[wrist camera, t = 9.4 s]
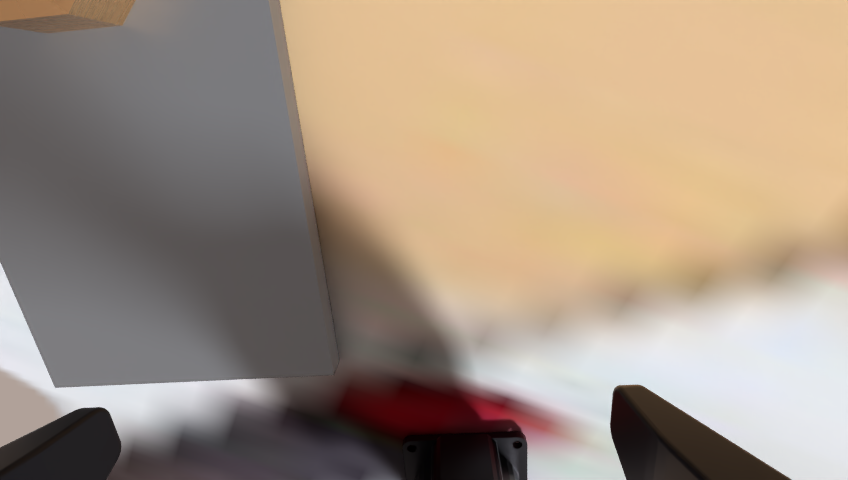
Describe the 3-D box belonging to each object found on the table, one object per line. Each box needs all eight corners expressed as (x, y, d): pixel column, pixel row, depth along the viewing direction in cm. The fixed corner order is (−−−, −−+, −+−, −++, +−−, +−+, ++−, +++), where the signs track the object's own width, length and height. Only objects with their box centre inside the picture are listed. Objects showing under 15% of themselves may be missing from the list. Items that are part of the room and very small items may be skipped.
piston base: (339, 360, 21) (309, 440, 16) (74, 372, 22) (-30, 452, 17) (232, -281, 13) (114, -494, 9) (-172, -227, 14) (-493, -395, 9)
